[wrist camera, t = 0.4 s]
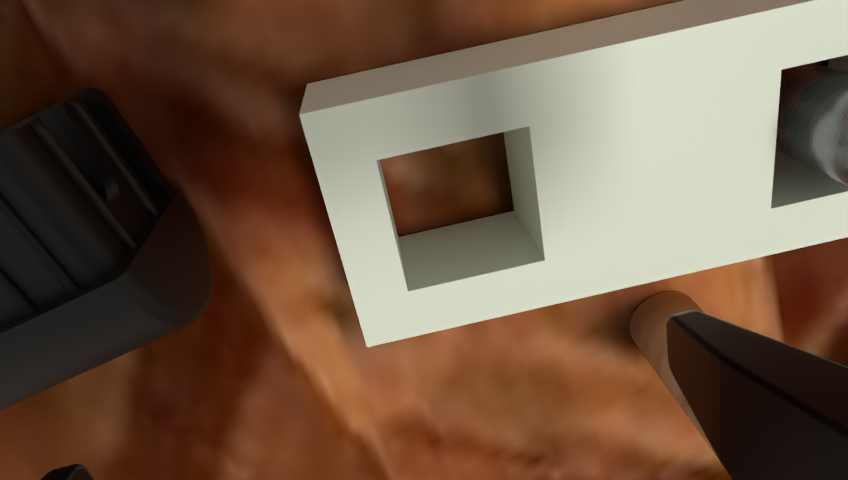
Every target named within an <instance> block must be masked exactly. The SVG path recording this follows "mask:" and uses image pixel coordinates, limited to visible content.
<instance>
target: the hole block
mask: <svg viewBox="0 0 848 480" xmlns="http://www.w3.org/2000/svg"><path fill="white" fill-rule="evenodd" d="M827 59H829V60H828V67H831V68H835V69H838V70H842V71H846V72H848V0H683V1H679V2H674V3H670V4H665V5H661V6H656V7H652V8H647V9H643V10H638V11H634V12H629V13H624V14H620V15H615V16H611V17H606V18H602V19H597V20H593V21H588V22H584V23H579V24H575V25H570V26H566V27H561V28H557V29H552V30H548V31H543V32H539V33H534V34H530V35H525V36H521V37H516V38H511V39H507V40H502V41H498V42H493V43H489V44H484V45H480V46H475V47H471V48H466V49H462V50H457V51H453V52H448V53H444V54H439V55H435V56H430V57H426V58H421V59H417V60H412V61H408V62H403V63H399V64H394V65H389V66H385V67H380V68H376V69H371V70H367V71H362V72H358V73H353V74H349V75H344V76H340V77H335V78H331V79H326V80H322V81H317V82H313V83H308V84H307V86H306V90H305V94H304V98H303V101H302V105H301V109H300V113H299V116H300V120H301V123H302V126H303V130H304V133H305V137H306V140H307V144H308V147H309V150H310V154H311V157H312V161H313V164H314V167H315V171H316V174H317V178H318V181H319V185H320V188H321V191H322V195H323V198H324V202H325V205H326V209H327V212H328V215H329V219H330V222H331V226H332V229H333V232H334V236H335V239H336V243H337V246H338V250H339V253H340V256H341V260H342V263H343V267H344V270H345V273H346V277H347V280H348V284H349V287H350V291H351V294H352V297H353V301H354V304H355V308H356V311H357V315H358V318H359V321H360V325H361V328H362V332H363V335H364V338H365V342H366V345H367V347H370V346H375V345H379V344H384V343H388V342H392V341H397V340H401V339H405V338H410V337H414V336H418V335H423V334H427V333H431V332H436V331H440V330H445V329H449V328H453V327H458V326H462V325H466V324H471V323H475V322H479V321H484V320H488V319H492V318H497V317H501V316H506V315H510V314H514V313H519V312H523V311H527V310H532V309H536V308H540V307H545V306H549V305H554V304H558V303H562V302H567V301H571V300H575V299H580V298H584V297H588V296H593V295H597V294H601V293H606V292H610V291H615V290H619V289H623V288H628V287H632V286H636V285H641V284H645V283H649V282H654V281H658V280H662V279H667V278H671V277H676V276H680V275H684V274H689V273H693V272H697V271H702V270H706V269H710V268H715V267H719V266H724V265H728V264H732V263H737V262H741V261H745V260H750V259H754V258H758V257H763V256H767V255H771V254H776V253H780V252H785V251H789V250H793V249H798V248H802V247H806V246H811V245H815V244H819V243H824V242H828V241H833V240H837V239H841V238H846V237H848V186H847V185H845V184H843V183H841V182H839V181H837V180H835V179H833V178H831V177H829V176H827V175H825V174H823V173H820V172H818V171H816V170H814V169H812V168H810V167H808V166H806V165H804V164H802V163H800V162H798V161H796V160H794V159H792V158H790V157H788V156H786V155H784V154H782V153H780V152H778V151H776V152H775V149H776V135H777V122H778V109H779V96H780V83H781V70H782V69H787V68H791V67H796V66H800V65H805V64H809V63H814V62H818V61H822V60H827ZM501 132H503V133H504V141H505V148H506V155H507V162H508V170H509V177H510V184H511V192H512V199H513V206H514V211H511V212H507V213H502V214H498V215H494V216H489V217H485V218H480V219H476V220H472V221H467V222H463V223H458V224H454V225H449V226H445V227H441V228H436V229H432V230H427V231H423V232H419V233H414V234H410V235H405V236H401V237H398V234H397V230H396V226H395V222H394V217H393V213H392V209H391V205H390V201H389V196H388V192H387V188H386V184H385V180H384V176H383V171H382V167H381V163H380V159H385V158H389V157H394V156H398V155H403V154H407V153H412V152H416V151H421V150H425V149H430V148H434V147H438V146H443V145H447V144H452V143H456V142H461V141H465V140H470V139H474V138H479V137H483V136H488V135H492V134H496V133H501Z"/></svg>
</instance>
